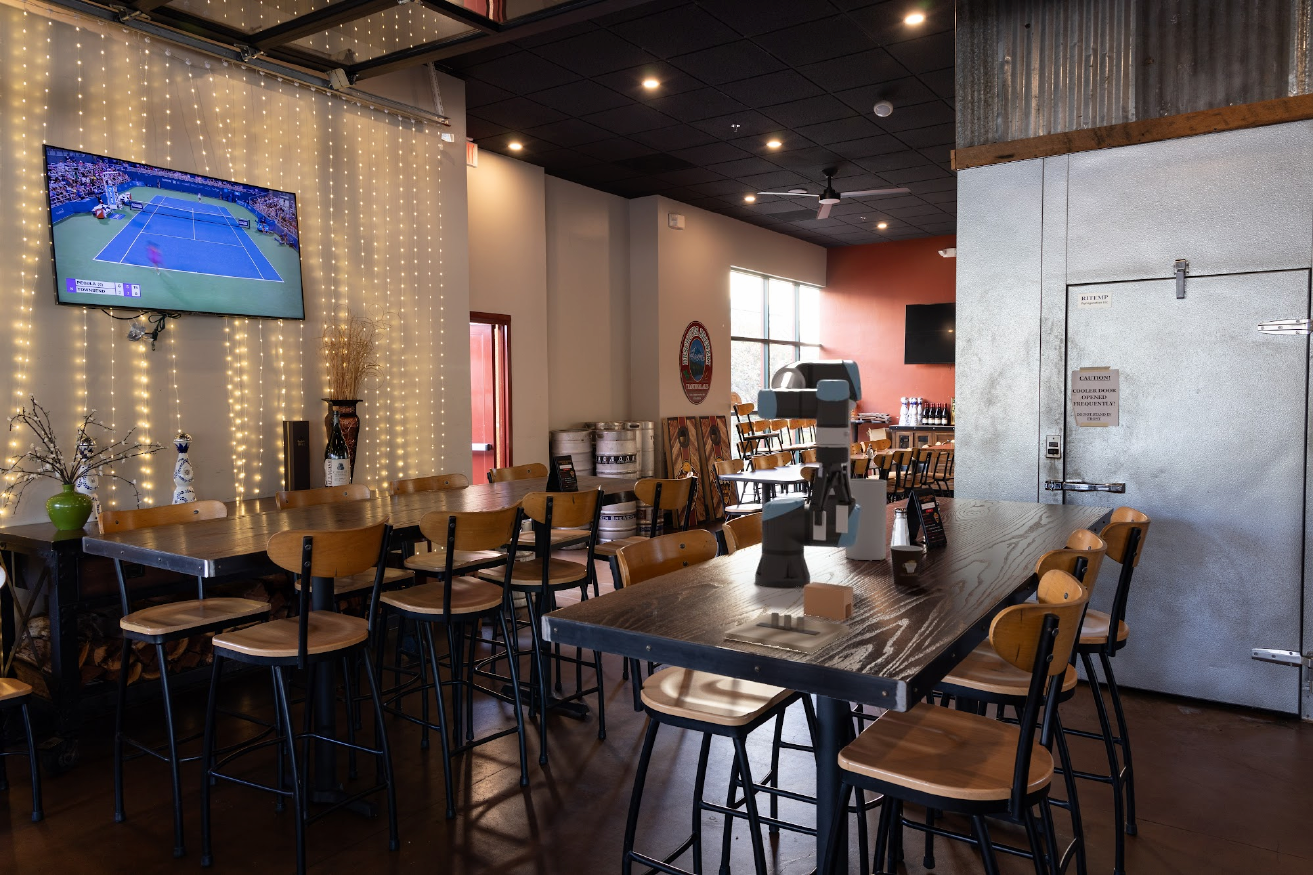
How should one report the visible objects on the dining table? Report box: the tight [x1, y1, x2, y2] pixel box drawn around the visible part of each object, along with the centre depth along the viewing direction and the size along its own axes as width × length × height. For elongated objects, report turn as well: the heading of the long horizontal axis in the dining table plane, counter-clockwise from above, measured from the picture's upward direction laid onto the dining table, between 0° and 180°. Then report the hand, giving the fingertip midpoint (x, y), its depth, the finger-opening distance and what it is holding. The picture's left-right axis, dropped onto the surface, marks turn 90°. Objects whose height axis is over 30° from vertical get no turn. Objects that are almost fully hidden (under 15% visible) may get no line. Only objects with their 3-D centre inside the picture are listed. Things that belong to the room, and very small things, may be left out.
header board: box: [723, 612, 850, 655], centre depth 189 cm, size 20×20×4 cm
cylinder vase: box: [844, 478, 888, 562], centre depth 282 cm, size 12×12×25 cm
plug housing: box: [803, 581, 854, 622], centre depth 208 cm, size 10×6×7 cm, turn 56°
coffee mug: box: [889, 544, 936, 587], centre depth 243 cm, size 12×9×10 cm
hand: (830, 536), depth 207 cm, fingers open, 13 cm apart
